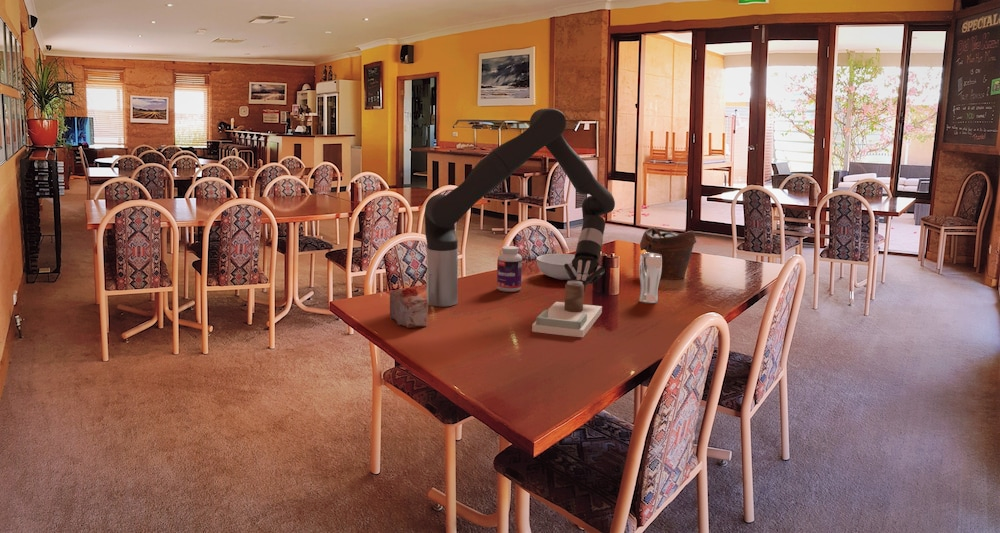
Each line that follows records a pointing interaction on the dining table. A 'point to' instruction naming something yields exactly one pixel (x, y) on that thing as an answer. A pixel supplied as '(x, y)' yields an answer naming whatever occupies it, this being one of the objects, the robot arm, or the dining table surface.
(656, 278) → the beer glass
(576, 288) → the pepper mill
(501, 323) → the dining table surface
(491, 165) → the robot arm
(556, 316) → the board
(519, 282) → the pill bottle
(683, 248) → the brown bucket
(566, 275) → the serving bowl
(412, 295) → the grey stone block
